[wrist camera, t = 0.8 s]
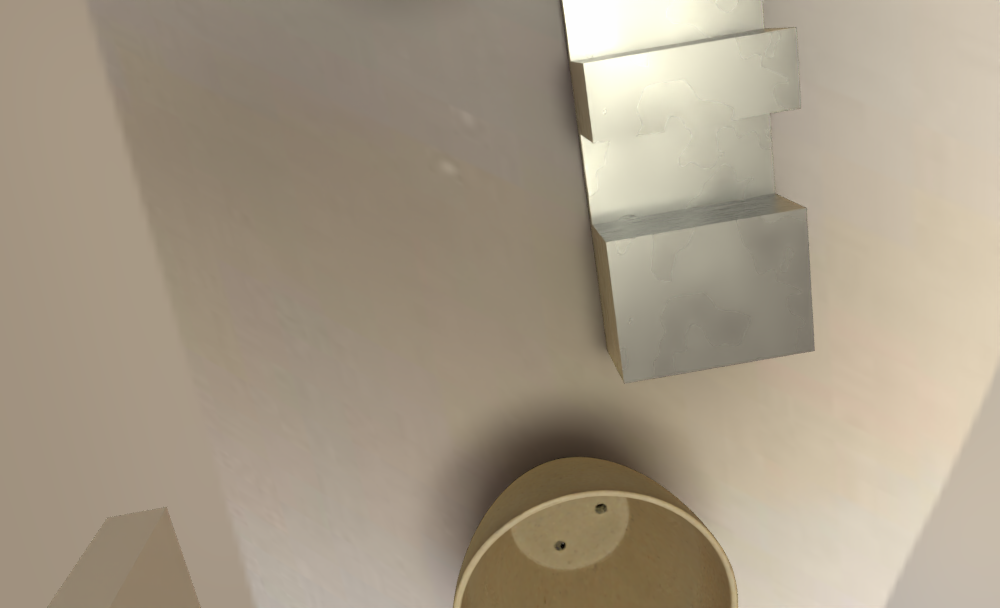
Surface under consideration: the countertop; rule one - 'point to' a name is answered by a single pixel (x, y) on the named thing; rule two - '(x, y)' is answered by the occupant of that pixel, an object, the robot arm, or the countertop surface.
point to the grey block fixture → (689, 182)
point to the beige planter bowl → (592, 545)
